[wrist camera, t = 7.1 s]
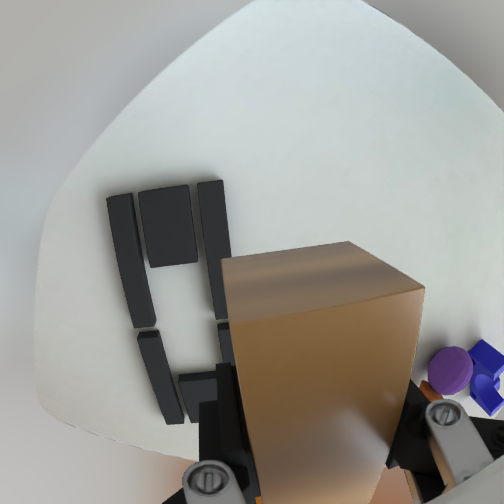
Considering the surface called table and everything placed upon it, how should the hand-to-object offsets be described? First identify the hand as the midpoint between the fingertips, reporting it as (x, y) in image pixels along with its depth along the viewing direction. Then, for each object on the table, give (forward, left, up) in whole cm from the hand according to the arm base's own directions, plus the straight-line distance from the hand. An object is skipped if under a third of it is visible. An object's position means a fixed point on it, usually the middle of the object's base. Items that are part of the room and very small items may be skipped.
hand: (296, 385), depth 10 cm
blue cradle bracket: (+22, +33, -16) cm, 43 cm away
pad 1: (-1, -6, -16) cm, 17 cm away
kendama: (+22, +18, -16) cm, 33 cm away
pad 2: (+11, -6, -16) cm, 20 cm away
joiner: (0, 0, 0) cm, 0 cm away
